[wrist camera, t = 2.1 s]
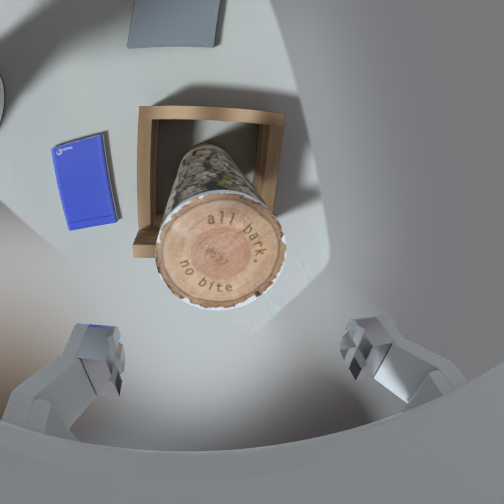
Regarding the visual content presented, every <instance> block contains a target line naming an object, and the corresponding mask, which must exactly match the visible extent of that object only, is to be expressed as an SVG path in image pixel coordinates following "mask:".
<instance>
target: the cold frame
mask: <svg viewBox="0 0 504 504" xmlns="http://www.w3.org/2000/svg"><path fill="white" fill-rule="evenodd" d="M284 118H285V114H283V113H275V112H267V111H258V110H248V109H237V108H224V107H205V106H139V119H138V143H137V199H138V224H139V231H138V234H137V236H136V238H135V241H134V243H133V255H134V257H137V258H139V257H140V258H141V257H142V258H149V257H150V258H155V249H156V241H157V236H158V233H159V229H160V226H161V222H162V219H163V215H164V214H157V149H158V127H159V119H196V120H219V121H234V122H247V123H257V124H259V132H258V141H257V150H256V160H255V169H254V179H253V187H254V188H255V190H256V191H257V192H258V194H259V195H260V196H261V198H262V199H263V200H264V201H265V203H266V204H267V205H268V207H269V208H270V209H271V211H272V212H273V206H274V198H275V191H276V183H277V175H278V167H279V159H280V151H281V143H282V134H283V126H284Z"/></svg>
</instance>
